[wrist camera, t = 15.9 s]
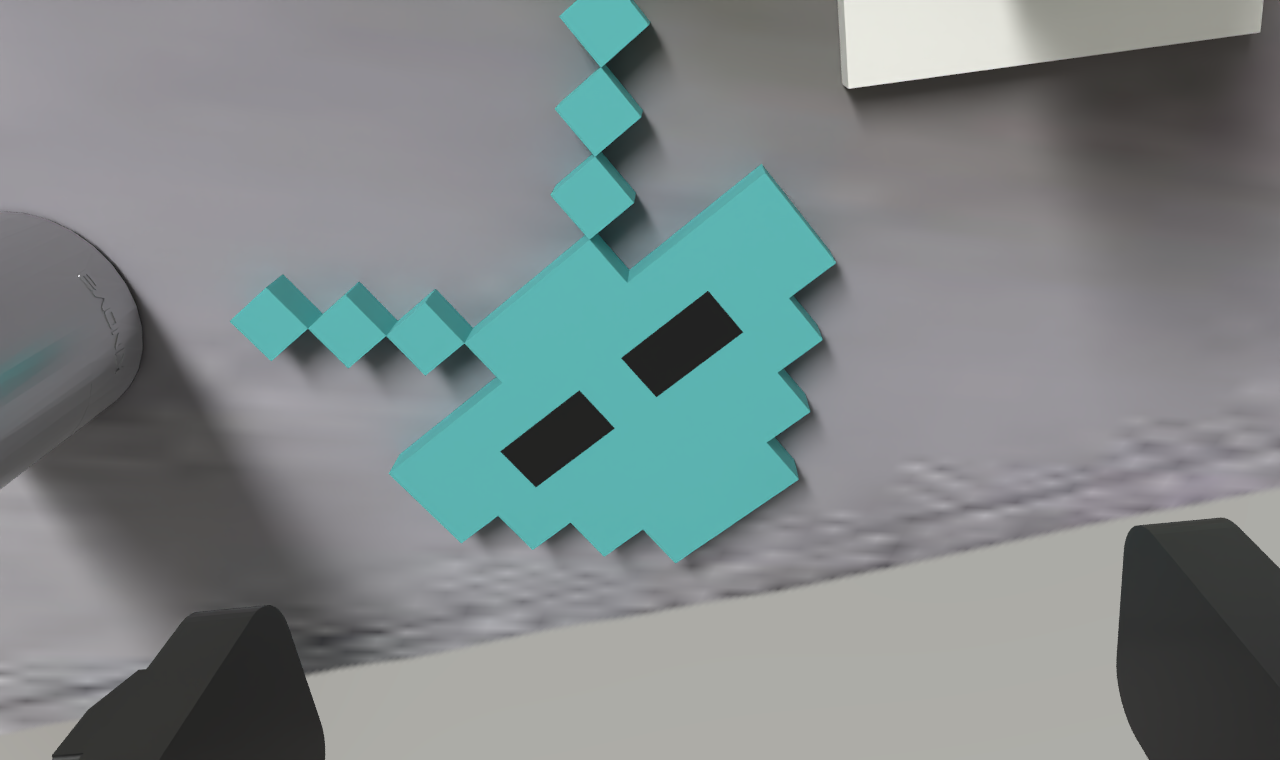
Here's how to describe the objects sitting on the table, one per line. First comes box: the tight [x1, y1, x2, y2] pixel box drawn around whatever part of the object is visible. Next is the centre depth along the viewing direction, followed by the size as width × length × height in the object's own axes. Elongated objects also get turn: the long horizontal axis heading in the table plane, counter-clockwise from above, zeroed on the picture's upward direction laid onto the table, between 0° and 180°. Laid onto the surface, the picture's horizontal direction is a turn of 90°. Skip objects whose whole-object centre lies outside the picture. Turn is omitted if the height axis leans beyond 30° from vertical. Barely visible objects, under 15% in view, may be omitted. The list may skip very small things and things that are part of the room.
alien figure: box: [230, 0, 836, 563], centre depth 40 cm, size 20×2×20 cm
